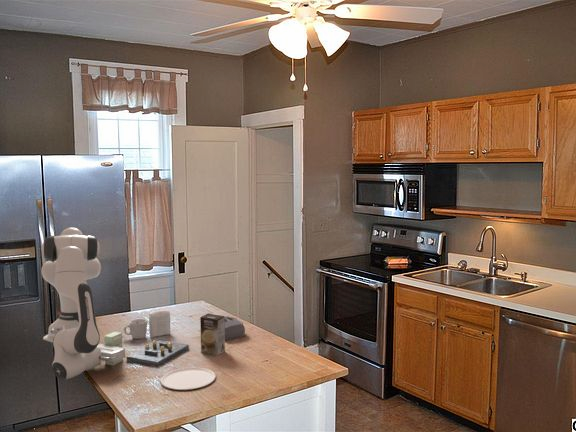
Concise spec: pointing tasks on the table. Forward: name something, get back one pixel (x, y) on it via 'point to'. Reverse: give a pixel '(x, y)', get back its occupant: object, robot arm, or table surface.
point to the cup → (137, 328)
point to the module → (113, 343)
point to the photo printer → (159, 323)
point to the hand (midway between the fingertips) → (115, 345)
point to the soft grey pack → (233, 328)
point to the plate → (188, 378)
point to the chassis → (157, 353)
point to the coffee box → (212, 334)
